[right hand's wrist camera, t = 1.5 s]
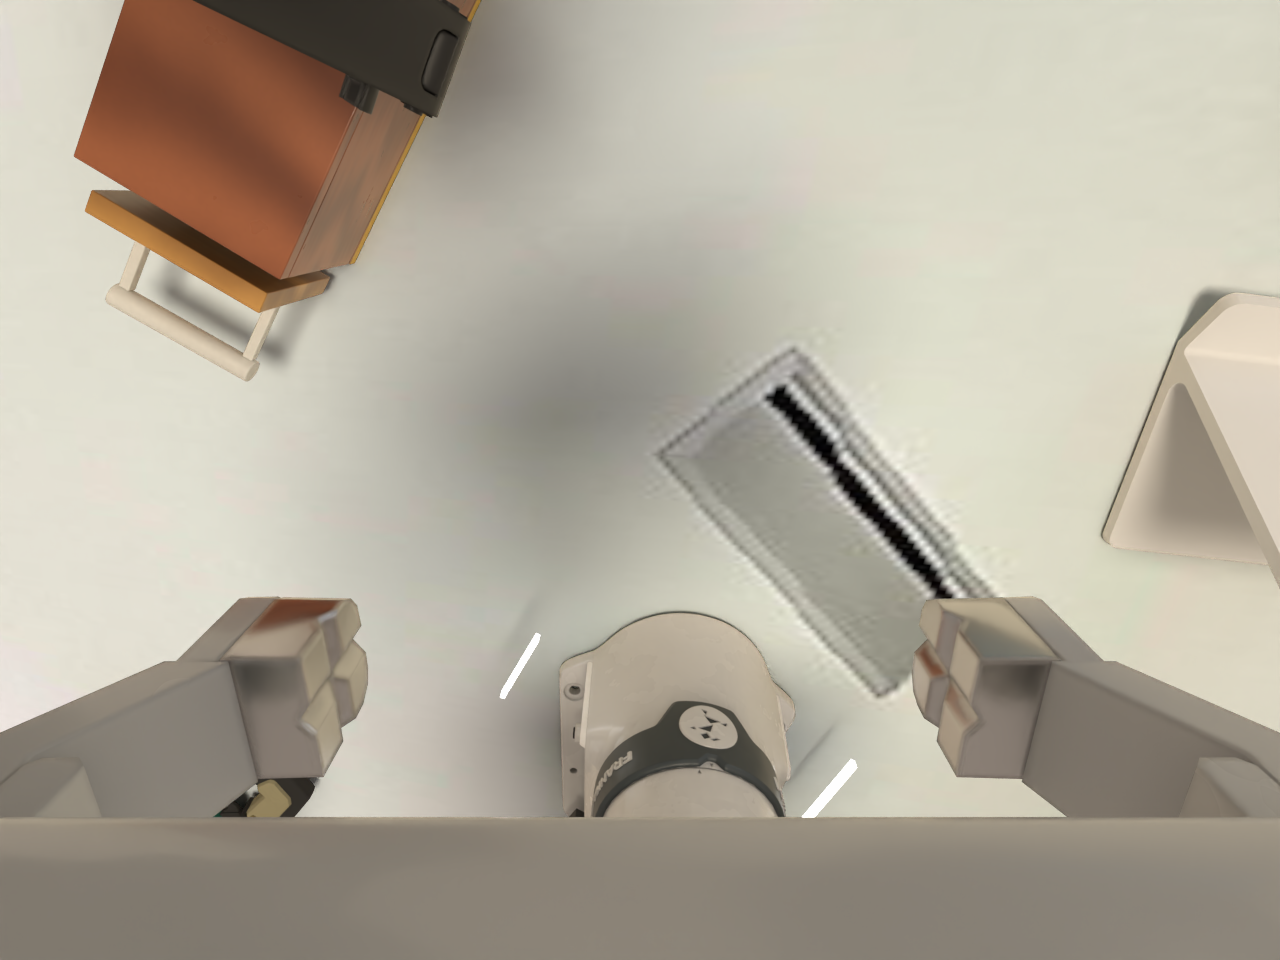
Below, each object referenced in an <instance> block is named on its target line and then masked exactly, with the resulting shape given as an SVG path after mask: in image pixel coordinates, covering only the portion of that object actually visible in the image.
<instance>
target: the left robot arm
mask: <svg viewBox="0 0 1280 960" xmlns="http://www.w3.org/2000/svg"><path fill="white" fill-rule="evenodd" d="M193 1H195V2H197V3H199V4H201V5H203V6H205V7H207V8H209V9H211V10H214V11H216V12H218V13H220V14H222V15H224V16H226V17H228V18H230V19H232V20H234V21H236V22H239V23H241V24H243V25H245V26H247V27H249V28H251V29H253V30H255V31H257V32H259V33H261V34H264V35H266V36H268V37H270V38H272V39H274V40H276V41H278V42H280V43H282V44H284V45H286V46H289V47H291V48H293V49H295V50H297V51H299V52H301V53H303V54H305V55H307V56H309V57H311V58H313V59H316V60H318V61H320V62H322V63H324V64H326V65H328V66H330V67H332V68H334V69H336V70H338V71H341V72H343V73H345V74H346V75H345V78H344V81H343V84H342V87H341V91H340V94H339V97H341V98H343V99H344V100H345V101H347V102H348V103H350V104H351V105H353V106H355V107H357V108H358V109H359V110H361V111H363V112H366V113H368V114H372V112H373V109H374V106H375V103H376V100H377V97H378V94H379V91H382V92H384V93H386V94H388V95H390V96H393V97H395V98H397V99H399V100H401V102H402V103H404V106H403V107H405V108H406V109H408V110H410V111H412V112H414V113H416V114H418V115H420V116H422V115H423V114H425V115H427V116H429V117H431V118H432V117H433V116H434V117H437V116H438V114H439V111H440V108H441V105H442V103H443V100H444V97H445V94H446V92H447V89H448V86H449V83H450V80H451V78H452V75H453V72H454V69H455V67H456V64H457V61H458V58H459V56H460V53H461V50H462V47H463V45H464V42H465V39H466V36H467V34H468V31H469V28H470V25H471V23H470V22H469V21H468V18H467V17H466V16H464V15H463V14H461V13H460V12H459V11H460V9H459V8H458V7H457V6H455V5H454V4H452V3H450V2H449V1H447V0H193Z"/></svg>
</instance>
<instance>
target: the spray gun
mask: <svg viewBox="0 0 1280 960" xmlns="http://www.w3.org/2000/svg"><path fill="white" fill-rule="evenodd" d="M256 785H257V787H258V791H259V794H258V795H257V796H256V797H255V798H253V797H250V798H249V800H248V802H247V804H246V806H245V807H244V809H242V808H241V807H240V805H239V804H238V803H236V802H235V801H233V802H232V803H230V804H229V805H228V807H226V808H224V809H223V810H221V811H220V812H219V813H217V814H216V815H215V816H213V817H295V815H296V814H297V813H298V812H299V811H300V810H301V808H302V807H303V806H304V805H305V804H306V802H307V801H308V800H309V799H310V797H311V795H312V793H313V791H314V788H315V786H314V785H313V784H312V782H311V781H310V780H309V779H308V778H307V777H306V778H270V779H258V782H257V783H256Z"/></svg>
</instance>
